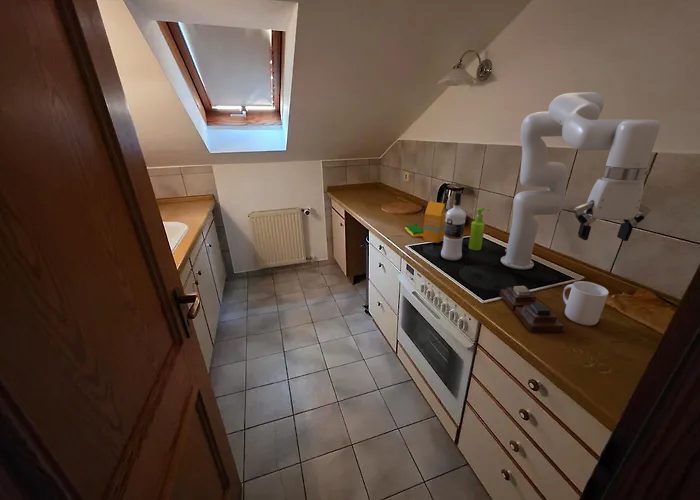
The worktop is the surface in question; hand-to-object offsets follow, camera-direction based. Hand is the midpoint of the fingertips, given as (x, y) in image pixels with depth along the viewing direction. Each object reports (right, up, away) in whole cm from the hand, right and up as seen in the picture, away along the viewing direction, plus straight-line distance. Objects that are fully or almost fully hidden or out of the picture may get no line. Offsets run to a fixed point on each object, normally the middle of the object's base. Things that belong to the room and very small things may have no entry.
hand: (602, 238), depth 80 cm
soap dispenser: (-6, -2, +66) cm, 67 cm away
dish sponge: (-31, +7, +89) cm, 95 cm away
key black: (-10, -22, +11) cm, 26 cm away
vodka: (-21, -7, +57) cm, 62 cm away
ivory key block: (-10, -21, +22) cm, 32 cm away
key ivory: (-10, -18, +21) cm, 29 cm away
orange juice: (-23, +3, +79) cm, 82 cm away
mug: (+4, -24, +15) cm, 28 cm away
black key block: (-10, -25, +12) cm, 30 cm away
